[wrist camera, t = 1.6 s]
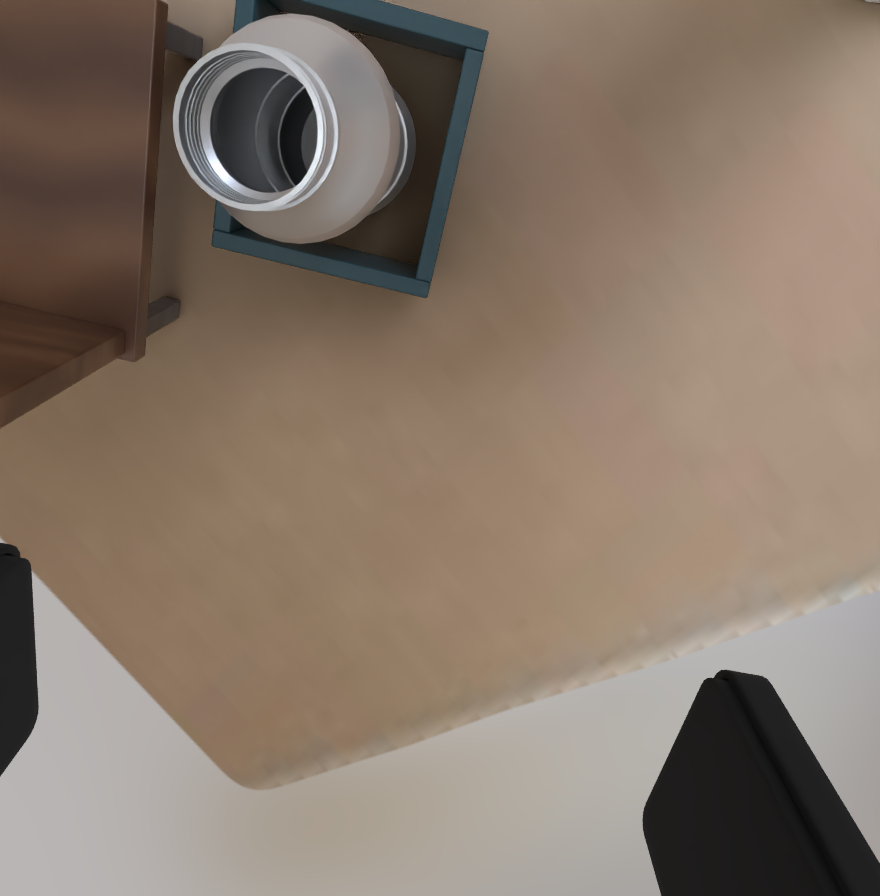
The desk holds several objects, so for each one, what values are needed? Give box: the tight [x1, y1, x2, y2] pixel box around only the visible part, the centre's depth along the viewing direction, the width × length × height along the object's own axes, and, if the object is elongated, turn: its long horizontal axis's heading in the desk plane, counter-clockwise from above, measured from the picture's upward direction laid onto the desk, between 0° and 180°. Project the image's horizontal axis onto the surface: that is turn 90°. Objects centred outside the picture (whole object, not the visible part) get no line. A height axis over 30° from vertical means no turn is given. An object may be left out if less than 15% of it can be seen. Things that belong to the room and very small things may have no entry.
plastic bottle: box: [173, 13, 416, 244], centre depth 25 cm, size 6×7×20 cm
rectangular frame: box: [212, 0, 489, 298], centre depth 32 cm, size 12×11×4 cm
